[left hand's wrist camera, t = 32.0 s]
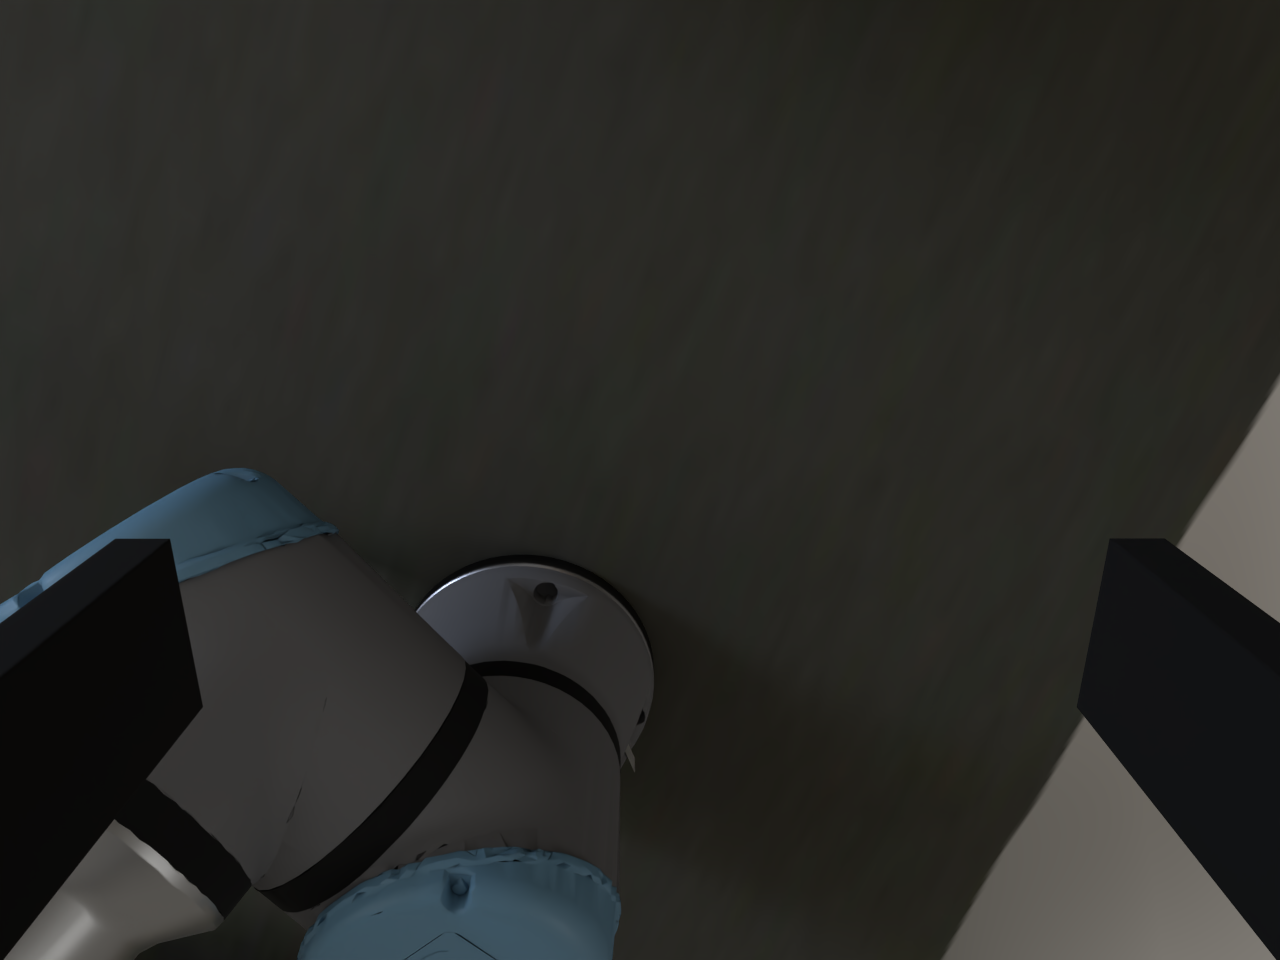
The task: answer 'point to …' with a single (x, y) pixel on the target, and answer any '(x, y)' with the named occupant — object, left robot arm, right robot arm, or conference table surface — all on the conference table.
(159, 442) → the conference table surface
